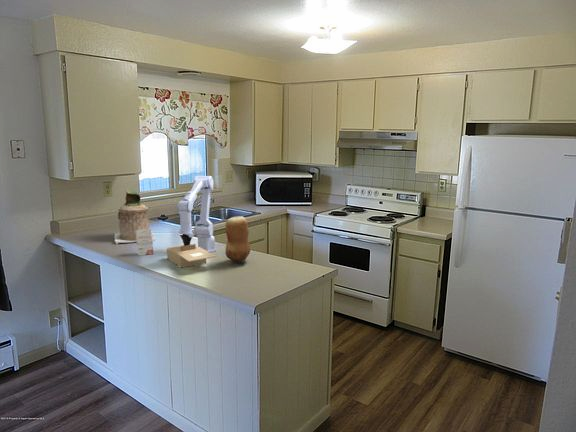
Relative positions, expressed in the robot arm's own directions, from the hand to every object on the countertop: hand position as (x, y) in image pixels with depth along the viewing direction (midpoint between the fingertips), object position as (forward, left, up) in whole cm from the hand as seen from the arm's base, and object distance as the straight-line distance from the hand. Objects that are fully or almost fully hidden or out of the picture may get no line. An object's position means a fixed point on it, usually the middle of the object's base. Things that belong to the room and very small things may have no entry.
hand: (187, 247), depth 229 cm
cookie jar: (+9, -67, -8) cm, 68 cm away
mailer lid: (0, +10, -1) cm, 10 cm away
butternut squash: (-22, +16, -8) cm, 29 cm away
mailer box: (0, -2, -8) cm, 8 cm away
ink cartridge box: (+14, -28, -8) cm, 32 cm away
